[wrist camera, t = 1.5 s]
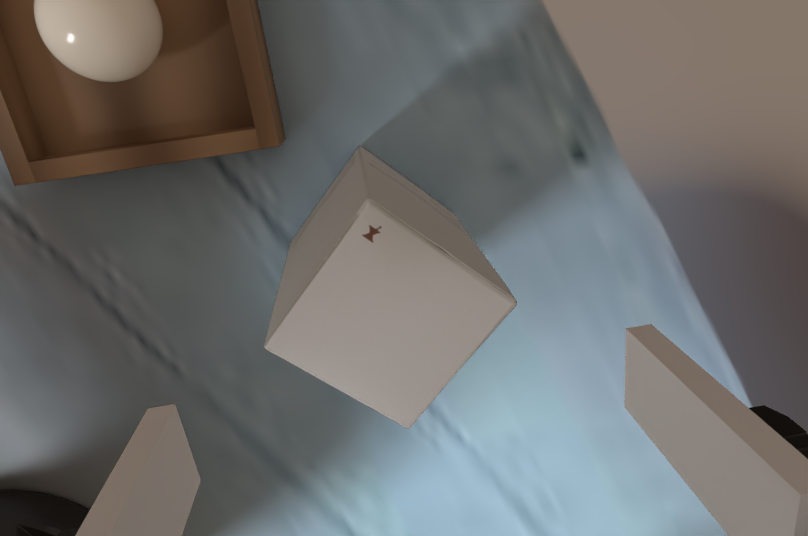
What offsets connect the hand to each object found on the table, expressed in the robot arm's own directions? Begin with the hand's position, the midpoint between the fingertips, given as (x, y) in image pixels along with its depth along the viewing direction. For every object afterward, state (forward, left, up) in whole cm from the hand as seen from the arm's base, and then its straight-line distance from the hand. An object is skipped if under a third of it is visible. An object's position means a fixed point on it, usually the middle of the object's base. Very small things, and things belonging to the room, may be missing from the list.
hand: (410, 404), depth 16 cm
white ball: (-11, +12, -17) cm, 24 cm away
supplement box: (0, 0, -18) cm, 18 cm away
